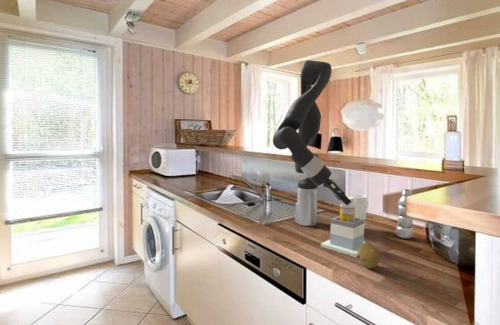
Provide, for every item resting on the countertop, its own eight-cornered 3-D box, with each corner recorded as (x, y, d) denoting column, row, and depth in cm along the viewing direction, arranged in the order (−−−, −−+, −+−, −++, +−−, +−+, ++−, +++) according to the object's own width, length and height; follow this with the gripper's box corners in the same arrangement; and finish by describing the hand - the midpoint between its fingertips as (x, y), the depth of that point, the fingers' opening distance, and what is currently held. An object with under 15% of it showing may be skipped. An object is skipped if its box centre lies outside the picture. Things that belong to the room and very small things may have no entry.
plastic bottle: (391, 236, 129) (394, 189, 127) (403, 234, 132) (406, 188, 130) (405, 241, 123) (407, 192, 121) (416, 239, 126) (420, 191, 124)
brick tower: (320, 246, 116) (321, 219, 115) (338, 237, 126) (339, 212, 125) (356, 257, 107) (357, 227, 106) (372, 246, 117) (373, 219, 116)
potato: (360, 260, 104) (361, 237, 104) (384, 266, 99) (385, 242, 99) (352, 267, 99) (353, 242, 98) (377, 274, 94) (378, 248, 93)
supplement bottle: (343, 220, 119) (344, 195, 119) (356, 222, 116) (357, 197, 115) (337, 223, 115) (338, 197, 114) (351, 226, 112) (352, 199, 111)
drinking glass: (361, 232, 134) (362, 198, 133) (347, 228, 140) (348, 195, 138) (368, 228, 139) (370, 196, 138) (355, 225, 144) (356, 193, 143)
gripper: (328, 165, 106) (359, 198, 108) (318, 161, 120) (346, 190, 122) (312, 180, 107) (343, 212, 108) (304, 174, 121) (332, 203, 122)
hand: (345, 200), depth 115 cm, fingers open, 8 cm apart
